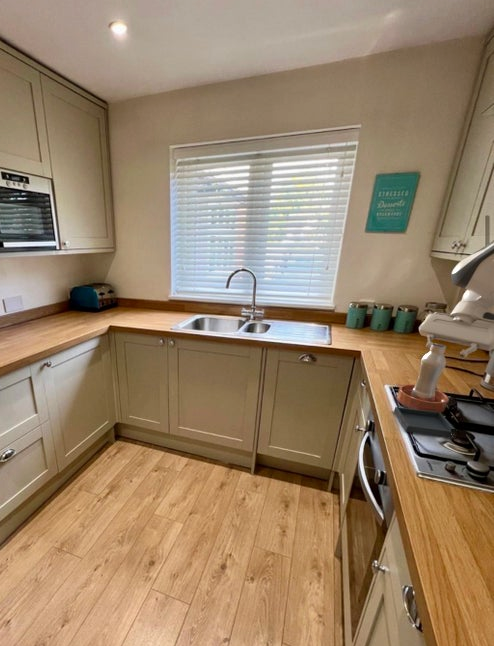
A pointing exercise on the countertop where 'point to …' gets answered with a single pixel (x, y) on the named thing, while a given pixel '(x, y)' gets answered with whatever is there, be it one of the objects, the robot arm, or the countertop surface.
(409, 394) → the bowl
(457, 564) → the countertop surface
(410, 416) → the tray
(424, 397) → the plastic bottle
